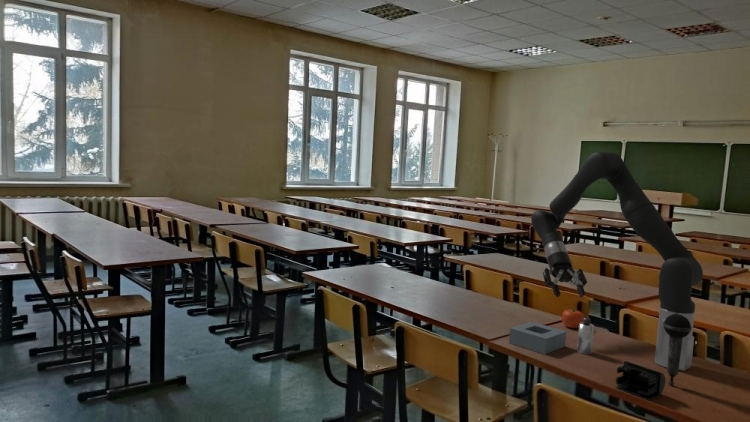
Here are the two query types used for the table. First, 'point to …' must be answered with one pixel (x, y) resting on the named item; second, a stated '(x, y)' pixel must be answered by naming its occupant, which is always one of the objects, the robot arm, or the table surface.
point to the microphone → (675, 341)
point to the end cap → (640, 381)
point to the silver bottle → (585, 337)
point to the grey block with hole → (537, 337)
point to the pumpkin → (572, 318)
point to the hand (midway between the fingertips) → (570, 296)
